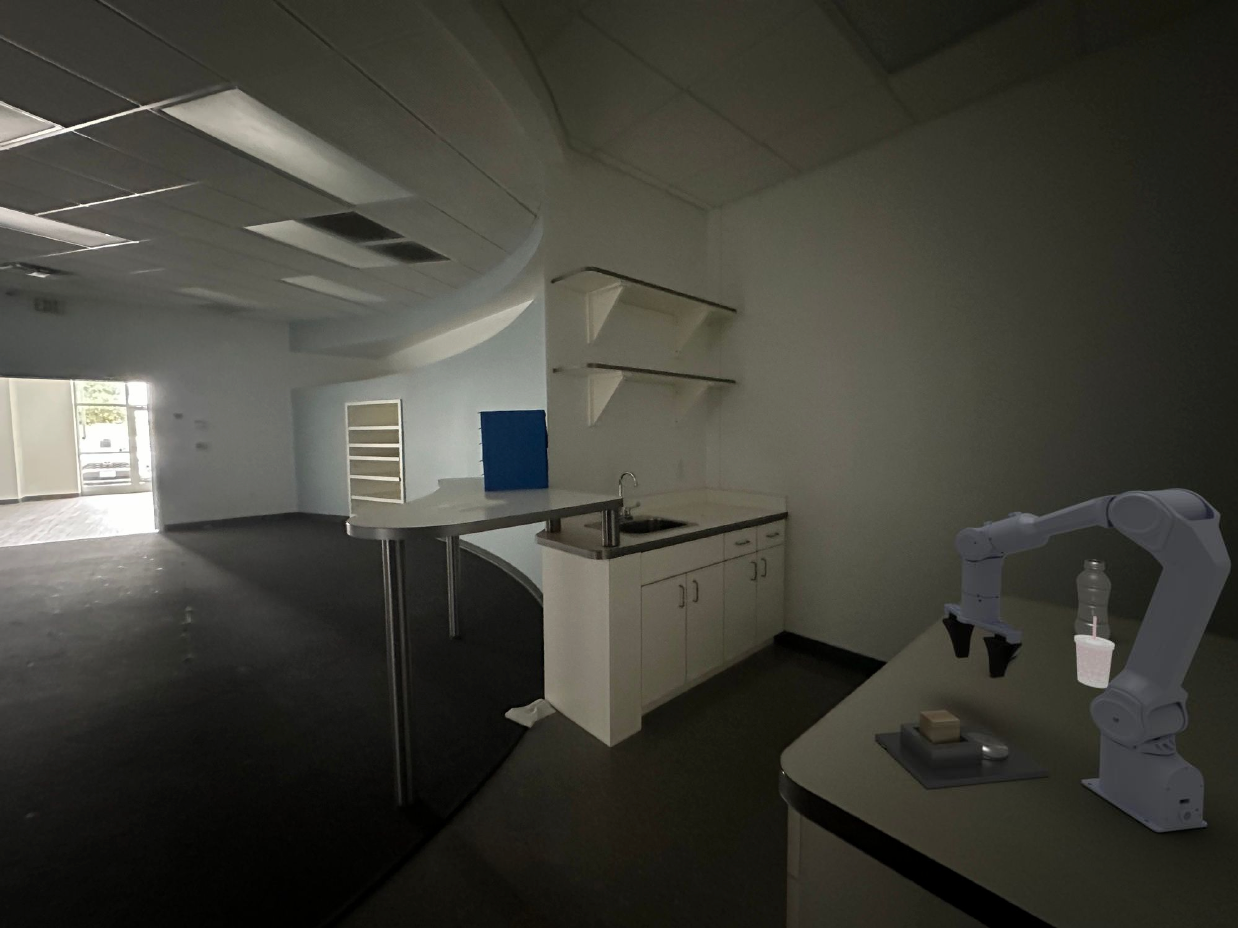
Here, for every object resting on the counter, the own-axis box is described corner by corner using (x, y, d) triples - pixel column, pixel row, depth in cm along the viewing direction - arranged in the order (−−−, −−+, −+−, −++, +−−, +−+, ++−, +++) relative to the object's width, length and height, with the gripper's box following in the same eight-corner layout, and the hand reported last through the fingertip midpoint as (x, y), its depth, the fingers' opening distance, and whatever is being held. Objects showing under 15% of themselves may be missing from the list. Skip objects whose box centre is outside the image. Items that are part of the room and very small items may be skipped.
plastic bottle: (1083, 643, 122) (1086, 563, 121) (1068, 633, 129) (1070, 557, 128) (1116, 646, 121) (1119, 565, 120) (1098, 635, 127) (1101, 558, 126)
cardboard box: (958, 757, 78) (959, 720, 78) (932, 759, 77) (933, 722, 77) (944, 745, 81) (945, 709, 81) (918, 747, 80) (919, 711, 80)
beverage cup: (1117, 692, 99) (1120, 624, 98) (1076, 685, 102) (1079, 618, 101) (1107, 679, 104) (1110, 614, 103) (1069, 672, 107) (1071, 609, 107)
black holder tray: (1048, 776, 75) (1049, 750, 75) (927, 788, 72) (927, 762, 72) (981, 730, 87) (981, 707, 86) (875, 739, 84) (875, 716, 84)
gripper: (930, 582, 97) (929, 650, 97) (996, 607, 82) (993, 687, 83) (963, 581, 97) (961, 648, 98) (1033, 605, 83) (1031, 684, 84)
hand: (978, 666), depth 91 cm, fingers open, 7 cm apart
